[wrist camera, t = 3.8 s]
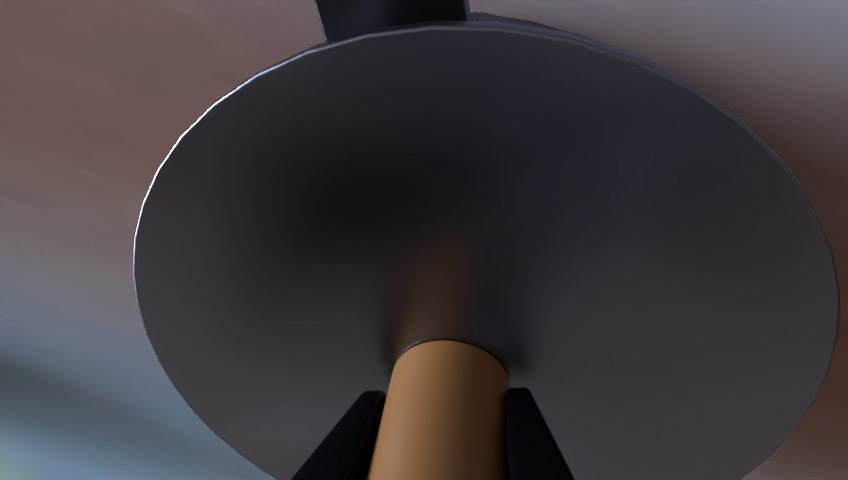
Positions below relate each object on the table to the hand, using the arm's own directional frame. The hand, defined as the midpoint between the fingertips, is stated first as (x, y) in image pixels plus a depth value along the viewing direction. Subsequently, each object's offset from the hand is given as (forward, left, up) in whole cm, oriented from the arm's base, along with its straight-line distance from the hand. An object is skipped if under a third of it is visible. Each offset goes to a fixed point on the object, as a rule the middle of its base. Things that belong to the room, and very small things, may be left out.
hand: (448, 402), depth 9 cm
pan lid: (0, 0, -1) cm, 1 cm away
